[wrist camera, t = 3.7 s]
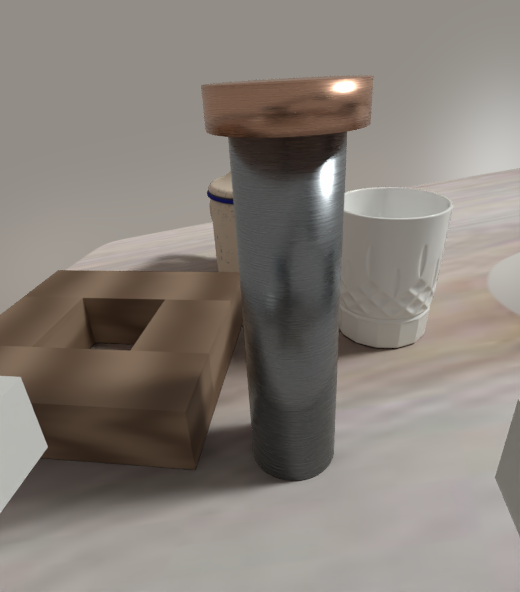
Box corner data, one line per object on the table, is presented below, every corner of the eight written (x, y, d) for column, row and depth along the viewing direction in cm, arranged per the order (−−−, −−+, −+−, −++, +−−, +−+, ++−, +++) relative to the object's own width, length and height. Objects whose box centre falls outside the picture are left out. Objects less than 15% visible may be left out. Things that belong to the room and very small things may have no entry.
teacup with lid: (323, 269, 44) (325, 151, 38) (255, 300, 39) (246, 168, 33) (248, 242, 52) (241, 140, 47) (183, 264, 47) (168, 153, 42)
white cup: (454, 329, 33) (478, 201, 28) (383, 368, 29) (397, 227, 25) (376, 293, 39) (386, 181, 34) (309, 321, 35) (309, 200, 31)
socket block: (245, 315, 37) (241, 272, 35) (195, 469, 23) (185, 411, 21) (70, 310, 39) (58, 270, 37) (-74, 449, 25) (-105, 395, 23)
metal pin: (346, 411, 26) (365, 74, 17) (352, 499, 21) (383, 78, 12) (247, 405, 27) (221, 81, 18) (229, 489, 21) (179, 88, 13)
